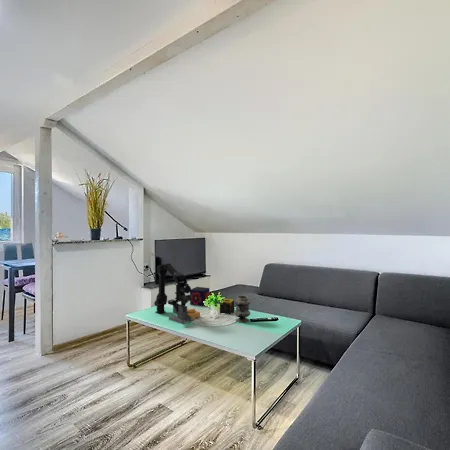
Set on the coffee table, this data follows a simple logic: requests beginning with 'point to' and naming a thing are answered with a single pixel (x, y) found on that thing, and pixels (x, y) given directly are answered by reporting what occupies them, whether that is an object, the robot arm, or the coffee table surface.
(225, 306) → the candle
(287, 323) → the coffee table surface
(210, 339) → the coffee table surface
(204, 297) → the decorative cube
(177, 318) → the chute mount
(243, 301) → the stone urn vase
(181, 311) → the chute
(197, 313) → the brown low lump
